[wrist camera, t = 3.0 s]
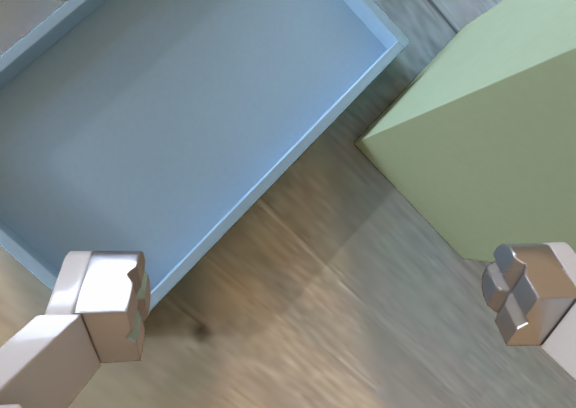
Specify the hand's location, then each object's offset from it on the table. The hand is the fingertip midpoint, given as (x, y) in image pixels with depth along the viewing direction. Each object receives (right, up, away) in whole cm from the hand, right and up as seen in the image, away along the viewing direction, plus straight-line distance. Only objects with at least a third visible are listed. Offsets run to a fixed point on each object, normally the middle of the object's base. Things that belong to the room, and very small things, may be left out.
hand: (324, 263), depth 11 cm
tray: (-9, +9, +25) cm, 29 cm away
